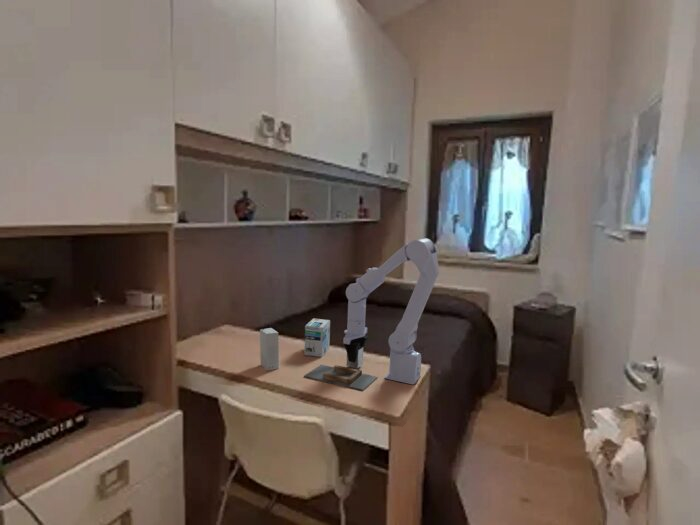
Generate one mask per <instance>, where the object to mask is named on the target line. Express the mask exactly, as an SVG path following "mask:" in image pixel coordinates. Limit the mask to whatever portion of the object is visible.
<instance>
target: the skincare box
mask: <svg viewBox="0 0 700 525" xmlns="http://www.w3.org/2000/svg"><path fill="white" fill-rule="evenodd" d="M279 343H280V342H279V332H278V331H276V330H275V329H274V328H272V327H269V328H268V327H267V328H261V329H259V347H260V348H259V350H260V352H259V353H260V355H259V356H260V366H262V367H263V369H265V370H266V371H273V370H279V366H280V364H279V363H280V360H279V359H280V357H279V352H280V351H279V349H280V348H279V347H280V346H279Z"/></svg>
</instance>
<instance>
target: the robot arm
mask: <svg viewBox="0 0 700 525" xmlns="http://www.w3.org/2000/svg"><path fill="white" fill-rule="evenodd" d="M410 261H411V262H412V263H413V264H414V265H415V266H416V268H417V270H418V272H419V276H418V278H417V282H416V284H415V286H414V289H413V292H412V293H411V295H410V298H409V301H408V303H407V306H406V308H405V310H404V313H403V315H402V318H401V320H400V321H399V322H398V324H397V326H396V328H395V331H394V332H392V333H391V334H390V335H389V337H388V346H389V348H390V350H389V351H390V352H389V369H388V370H389V372H388V373H387V374H386V375H385V376H384V379H385V380H386V379H387V380H391V381H395V382H399V383H400V382H401V383H405V384H409V385H415V383H417V381H418V380H419V379H420V378H421V376H422V375H421V369H422V368H421V367H422V354H421V353H420V352H417V351H415V348H414V345H413V344H414V343H415V342H416V340H417V331H418V328H419V326H418V325H419V322H420V319H421V317H422V314H423V312H424V309H425V307H426V305H427V302H428V300H429V298H430V296H431V293H432V290H433V289H434V286H435V283H436V282H437V279H438V276H439V273H440V266H439V261H438V249H437V247H436V245H435V244H434V242H433V241H432V240H431V239H429V238H426V237H422V238H420V239H413V240H411V241H409V242H408V244H405V245H403V246H402V247H401V248H399V249H398V250H396V252H395V253H393V254H392V255H391V256H390V257H389V258H388V259H387V260H386V261H385V262H384V263H382V264H381V265H380V266H379V267H372V268H370V267H369V268H367V269H366V270H365V272H366V273H365V274H363V275H362V276H360V277H357V278H356V279H355V283H350V284H349V285H348V286H347V287H346V290H345V296H346V299H347V301H348V302H347V303H348V304H347V326H346V327H347V328H346V329H345V330H344V331H343V334H345V335H344V337H343V340H342V344H343V346H344V348H345V350H346V357H347V356H348V360H349V362H355V361H356V356H357V351H358V347H359V346H361V347H363V350H364V348H365V345H366V343H367V341H368V339H369V336H368V335H366V334H368V327H366V310H367V298H368V297H369V295H370V294H371V293H372V292H373V291H375V290H376V289H377V288H378V287H379V286H381V285H382V284H384V282H385V280H386V276H387V275H388V274H390V273H391V272H392V271H393V270H394V269H397V267H398V266H400V265H402V264H403V262H410Z"/></svg>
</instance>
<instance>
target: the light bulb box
mask: <svg viewBox="0 0 700 525" xmlns="http://www.w3.org/2000/svg"><path fill="white" fill-rule="evenodd" d="M330 334H331V320H330V319H321V318H312V319H311V320H310V321H309V322H308V323H307V324H306V325H304V356H309V357H310V356H311V357H319V358H322V357H323V356H324V355H325V354H326V353H327V351H329V349H330V337H331V335H330Z"/></svg>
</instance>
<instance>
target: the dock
mask: <svg viewBox="0 0 700 525" xmlns="http://www.w3.org/2000/svg"><path fill="white" fill-rule="evenodd" d="M362 372H363V370H361V369H358V368H353V367H349V366H342V365H338V364H335V365H334V366H328V365H325V364H320V365H318V366H317V367H315V368H313V369H312V370H311V371H308V372H307V373H306V374H304V375H303V378H306V377H307V378H306V379H311V380H315V381H320V382H323V383H328V384H332V385H335V386H336V385H337V386H341V387H345V388H349V389H353V390H358V391H362V392H364V391H365V390H366V389H367V388H369V387H370V385H372V383H374V382H375V381H376V380H378V376H376V375H371V374H366V373H362Z"/></svg>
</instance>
